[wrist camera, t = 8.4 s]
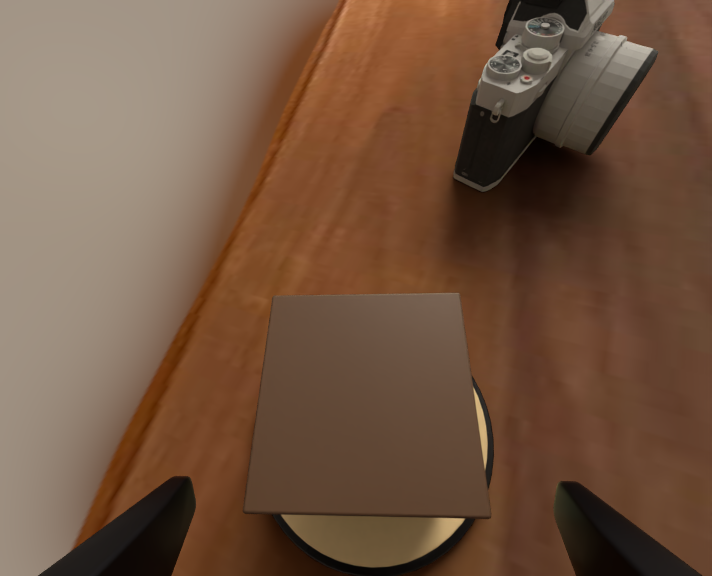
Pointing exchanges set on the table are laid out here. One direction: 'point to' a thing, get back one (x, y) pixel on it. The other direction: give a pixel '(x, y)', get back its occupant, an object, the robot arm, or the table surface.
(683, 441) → the table surface
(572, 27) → the camera
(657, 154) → the table surface
